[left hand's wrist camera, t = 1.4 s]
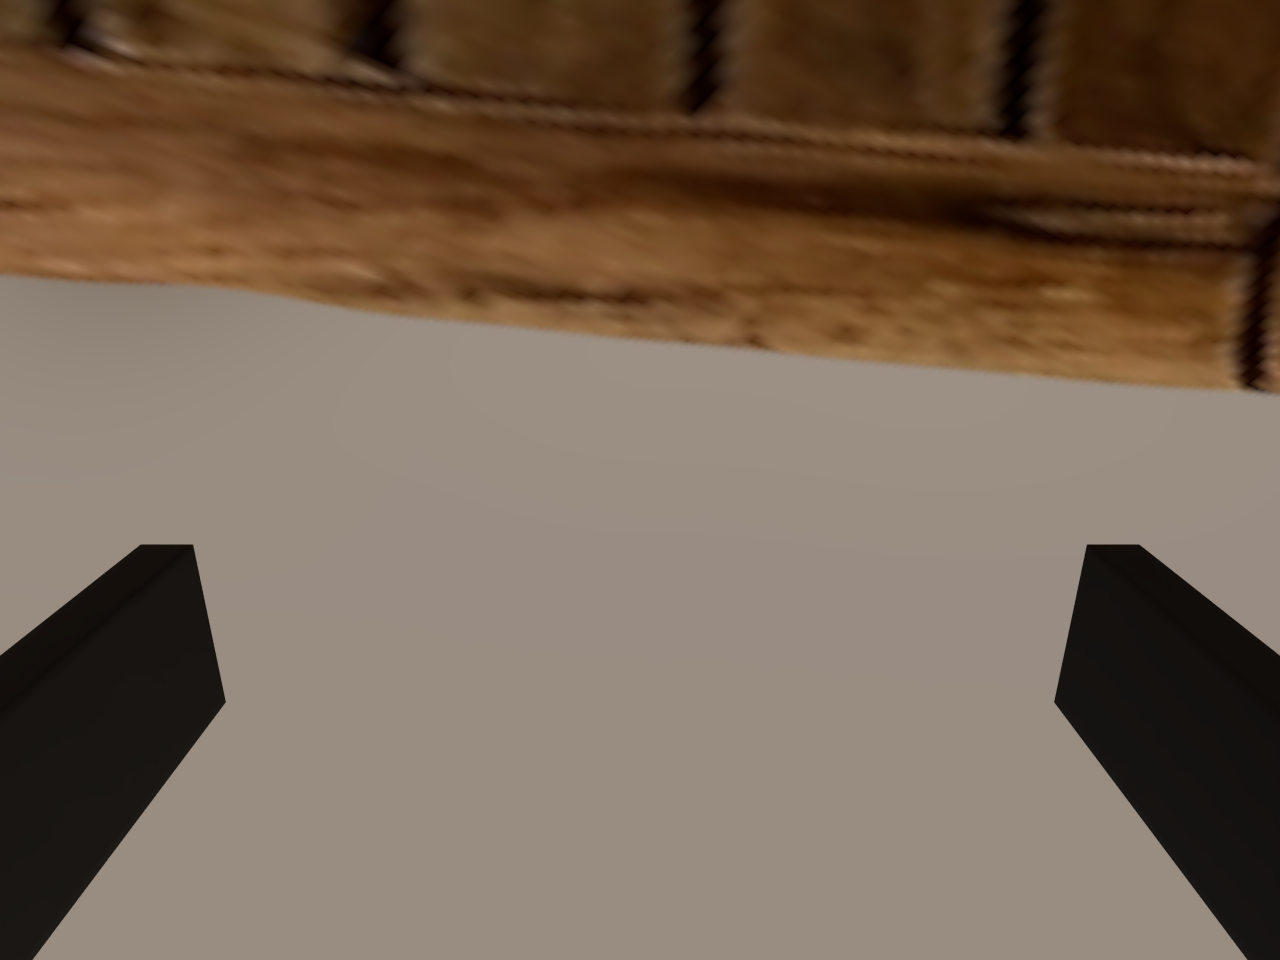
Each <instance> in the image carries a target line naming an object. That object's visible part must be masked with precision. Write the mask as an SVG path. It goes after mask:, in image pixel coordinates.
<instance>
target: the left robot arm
mask: <svg viewBox="0 0 1280 960" xmlns="http://www.w3.org/2000/svg"><path fill="white" fill-rule="evenodd" d="M1054 702H1055V704H1056V705H1057V707H1058V708H1059V709H1060V711H1061V712H1062V713H1063V714H1064V716H1065V717H1066V718H1067V720H1068V721H1069V723H1070V724H1071V725H1072V727H1073V728H1074V729H1075V731H1076V732H1077V733H1078V734H1079V736H1080V737H1081V738H1082V740H1083V741H1084V742H1085V744H1086V745H1087V747H1088V748H1089V749H1090V750H1091V752H1092V753H1093V755H1094V756H1095V757H1096V758H1097V760H1098V761H1099V762H1100V764H1101V765H1102V767H1103V768H1104V769H1105V771H1106V772H1107V773H1108V775H1109V776H1110V777H1111V778H1112V780H1113V781H1114V782H1115V784H1116V785H1117V786H1118V788H1119V789H1120V790H1121V792H1122V793H1123V794H1124V796H1125V797H1126V798H1127V800H1128V801H1129V802H1130V804H1131V805H1132V806H1133V808H1134V809H1135V810H1136V812H1137V813H1138V814H1139V816H1140V817H1141V818H1142V820H1143V821H1144V822H1145V824H1146V825H1147V826H1148V828H1149V829H1150V830H1151V832H1152V833H1153V834H1154V836H1155V837H1156V838H1157V840H1158V841H1159V842H1160V844H1161V845H1162V846H1163V848H1164V849H1165V850H1166V852H1167V853H1168V854H1169V856H1170V857H1171V858H1172V860H1173V861H1174V862H1175V864H1176V865H1177V866H1178V868H1179V869H1180V870H1181V872H1182V873H1183V874H1184V876H1185V877H1186V878H1187V880H1188V881H1189V882H1190V884H1191V885H1192V886H1193V888H1194V889H1195V890H1196V892H1197V893H1198V894H1199V896H1200V897H1201V898H1202V900H1203V901H1204V902H1205V904H1206V905H1207V906H1208V908H1209V909H1210V910H1211V912H1212V913H1213V914H1214V916H1215V917H1216V918H1217V920H1218V921H1219V922H1220V924H1221V925H1222V926H1223V928H1224V929H1225V930H1226V932H1227V933H1228V934H1229V936H1230V937H1231V938H1232V940H1233V941H1234V942H1235V944H1236V945H1237V946H1238V948H1239V949H1240V950H1241V952H1242V953H1243V954H1244V956H1245V957H1246V958H1247V960H1280V655H1278V654H1277V653H1276V652H1275V651H1273V650H1272V649H1271V648H1269V647H1268V646H1267V645H1266V644H1264V643H1263V642H1262V641H1261V640H1259V639H1258V638H1257V637H1255V636H1254V635H1253V634H1252V633H1250V632H1249V631H1248V630H1247V629H1245V628H1244V627H1243V626H1242V625H1240V624H1239V623H1238V622H1237V621H1235V620H1234V619H1233V618H1231V617H1230V616H1229V615H1228V614H1226V613H1225V612H1224V611H1223V610H1221V609H1220V608H1219V607H1218V606H1216V605H1215V604H1214V603H1213V602H1211V601H1210V600H1209V599H1207V598H1206V597H1205V596H1204V595H1202V594H1201V593H1200V592H1199V591H1197V590H1196V589H1195V588H1193V587H1192V586H1191V585H1190V584H1188V583H1187V582H1186V581H1185V580H1183V579H1182V578H1181V577H1180V576H1178V575H1177V574H1176V573H1174V572H1173V571H1172V570H1171V569H1169V568H1168V567H1167V566H1166V565H1164V564H1163V563H1162V562H1161V561H1159V560H1158V559H1157V558H1156V557H1154V556H1153V555H1152V554H1151V553H1149V552H1148V551H1147V550H1145V549H1144V548H1143V547H1142V546H1140V545H1087V547H1086V552H1085V557H1084V561H1083V566H1082V571H1081V576H1080V581H1079V585H1078V590H1077V595H1076V600H1075V605H1074V610H1073V614H1072V619H1071V624H1070V629H1069V634H1068V639H1067V643H1066V648H1065V653H1064V658H1063V662H1062V667H1061V672H1060V677H1059V682H1058V687H1057V691H1056V696H1055V701H1054ZM225 703H226V701H225V696H224V691H223V686H222V682H221V677H220V672H219V667H218V662H217V658H216V653H215V648H214V643H213V638H212V634H211V629H210V624H209V619H208V614H207V610H206V605H205V600H204V595H203V590H202V585H201V581H200V576H199V571H198V566H197V562H196V557H195V552H194V547H193V545H140V546H138V547H137V548H136V549H135V550H133V551H132V552H131V553H129V554H128V555H127V556H126V557H124V558H123V559H122V560H121V561H119V562H118V563H117V564H116V565H114V566H113V567H112V568H110V569H109V570H108V571H107V572H105V573H104V574H103V575H102V576H100V577H99V578H98V579H97V580H95V581H94V582H93V583H92V584H90V585H89V586H88V587H87V588H85V589H84V590H83V591H81V592H80V593H79V594H78V595H76V596H75V597H74V598H73V599H71V600H70V601H69V602H67V603H66V604H65V605H64V606H62V607H61V608H60V609H59V610H57V611H56V612H55V613H54V614H52V615H51V616H50V617H48V618H47V619H46V620H45V621H43V622H42V623H41V624H40V625H38V626H37V627H36V628H35V629H33V630H32V631H31V632H30V633H28V634H27V635H26V636H25V637H23V638H22V639H21V640H19V641H18V642H17V643H16V644H14V645H13V646H12V647H11V648H9V649H8V650H7V651H5V652H4V653H3V654H2V655H0V960H33V958H34V957H35V956H36V954H37V953H38V952H39V950H40V949H41V948H42V946H43V945H44V944H45V942H46V941H47V940H48V938H49V937H50V936H51V934H52V933H53V932H54V930H55V929H56V928H57V926H58V925H59V924H60V922H61V921H62V920H63V918H64V917H65V916H66V914H67V913H68V912H69V910H70V909H71V908H72V906H73V905H74V904H75V902H76V901H77V900H78V898H79V897H80V896H81V894H82V893H83V892H84V890H85V889H86V888H87V886H88V885H89V884H90V882H91V881H92V880H93V878H94V877H95V876H96V874H97V873H98V872H99V870H100V869H101V868H102V866H103V865H104V864H105V862H106V861H107V860H108V858H109V857H110V856H111V854H112V853H113V852H114V850H115V849H116V848H117V846H118V845H119V844H120V842H121V841H122V840H123V838H124V837H125V836H126V834H127V833H128V832H129V830H130V829H131V828H132V826H133V825H134V824H135V822H136V821H137V820H138V818H139V817H140V816H141V814H142V813H143V812H144V810H145V809H146V808H147V806H148V805H149V804H150V802H151V801H152V800H153V798H154V797H155V796H156V794H157V793H158V792H159V790H160V789H161V788H162V786H163V785H164V784H165V782H166V781H167V780H168V778H169V777H170V776H171V775H172V773H173V772H174V771H175V769H176V768H177V767H178V765H179V764H180V763H181V761H182V760H183V758H184V757H185V756H186V754H187V753H188V752H189V751H190V749H191V748H192V747H193V745H194V744H195V742H196V741H197V740H198V739H199V737H200V736H201V734H202V733H203V732H204V731H205V729H206V728H207V727H208V725H209V724H210V723H211V721H212V720H213V719H214V717H215V716H216V714H217V713H218V712H219V711H220V709H221V708H222V707H223V705H224V704H225Z"/></svg>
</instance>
